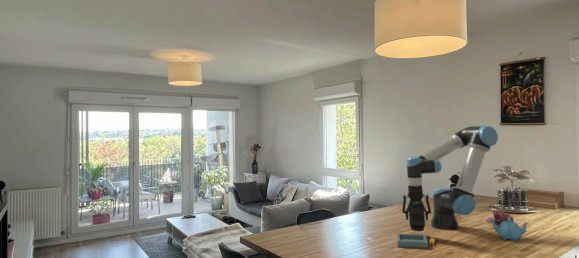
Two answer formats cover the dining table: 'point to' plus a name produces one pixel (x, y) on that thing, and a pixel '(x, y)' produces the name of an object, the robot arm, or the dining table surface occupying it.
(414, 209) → the camera lens
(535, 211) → the dining table surface
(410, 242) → the tray
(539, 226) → the dining table surface
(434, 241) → the fuse puller tool
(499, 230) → the teapot
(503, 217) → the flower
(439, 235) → the dining table surface
